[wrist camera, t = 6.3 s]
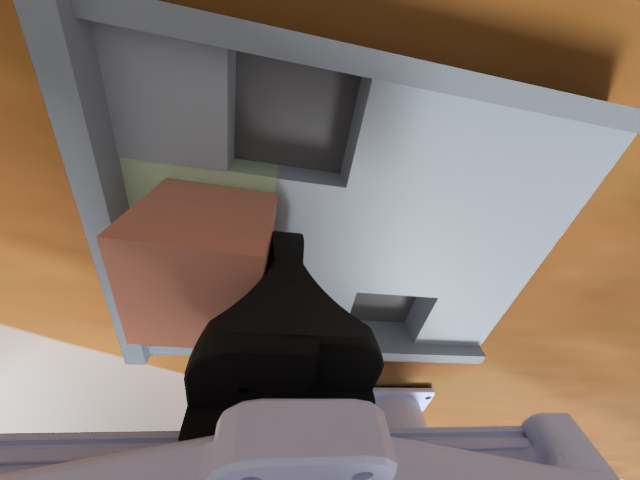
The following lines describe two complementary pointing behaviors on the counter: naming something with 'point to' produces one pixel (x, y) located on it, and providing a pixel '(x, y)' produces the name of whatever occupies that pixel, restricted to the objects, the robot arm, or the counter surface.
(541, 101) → the trap board
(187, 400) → the robot arm
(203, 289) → the block
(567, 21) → the counter surface
